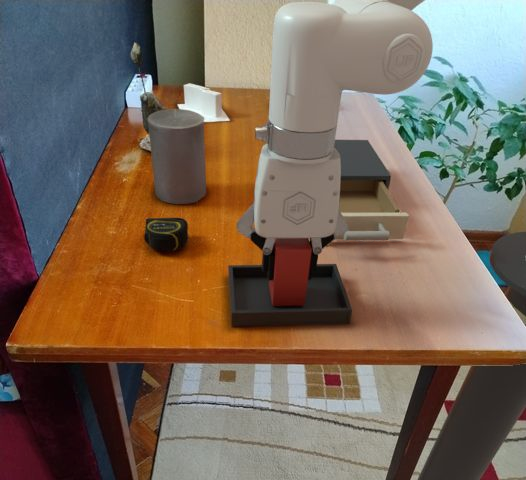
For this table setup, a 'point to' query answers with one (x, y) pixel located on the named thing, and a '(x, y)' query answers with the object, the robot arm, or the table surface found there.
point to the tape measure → (166, 233)
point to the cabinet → (361, 161)
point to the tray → (264, 314)
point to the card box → (290, 271)
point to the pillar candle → (178, 155)
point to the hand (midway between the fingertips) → (288, 273)
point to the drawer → (370, 211)
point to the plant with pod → (145, 99)
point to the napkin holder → (203, 103)
